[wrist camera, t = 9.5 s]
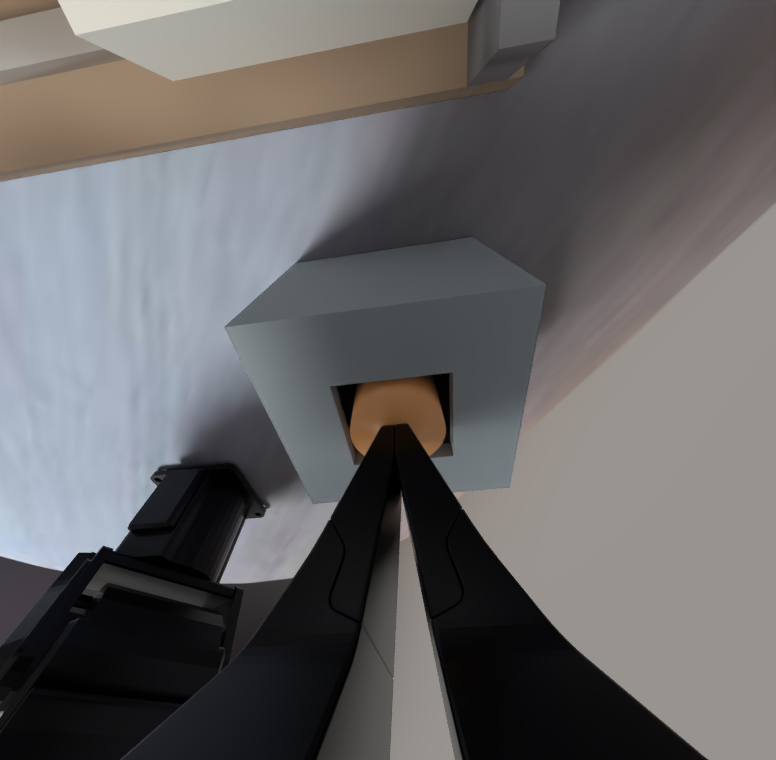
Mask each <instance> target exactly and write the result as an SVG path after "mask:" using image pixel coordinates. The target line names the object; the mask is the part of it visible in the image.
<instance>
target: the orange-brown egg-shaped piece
mask: <svg viewBox="0 0 776 760" xmlns="http://www.w3.org/2000/svg"><path fill="white" fill-rule="evenodd" d="M402 423H407V424H409V426H410V427H411V429H412V430H413V432H414V433H415V435H416V436H417V438H418V440H419V441H420V443H421V444H422V446H423V447H424V449H425V450H426V452H427V454H428V455H429V456H430V455H431V454H433V453H434V452H435V451H436V450H437V449H438V448H439V447H440V446H441V444H442V443H443V441H444V438H445V434H446V425H445V421H444V416H443V412H442V408H441V404H440V400H439V396H438V392H437V388H436V384H435V380H434V376H433V375H427V376H418V377H409V378H400V379H391V380H383V381H374V382H365V383H357V385H356V392H355V398H354V405H353V412H352V419H351V426H350V436H351V440H352V443H353V444H354V446H355V447H356V449H357V450H358V451H359V452H360V453H361V454H363V455H364V456H365V454H366V453H367V451H368V449H369V447H370V445H371V444H372V442H373V440H374V438H375V436H376V435H377V433H378V431H379V429H380V427H381V426H383V425H394V426H395V425H396V424H402Z"/></svg>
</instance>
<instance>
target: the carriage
mask: <svg viewBox="0 0 776 760" xmlns="http://www.w3.org/2000/svg"><path fill="white" fill-rule="evenodd" d="M477 1H478V0H58V2H59V4H60V6H61V8H62V10H63V12H64V14H65V16H66V18H67V20H68V22H69V24H70V26H71V28H72V30H73V32H74V34H75V35H76V36H78V37H80V38H82V39H84V40H87V41H89V42H91V43H93V44H95V45H97V46H99V47H101V48H104V49H106V50H108V51H110V52H112V53H114V54H116V55H118V56H121V57H123V58H125V59H127V60H129V61H131V62H133V63H135V64H138V65H140V66H142V67H144V68H146V69H148V70H150V71H152V72H155V73H157V74H159V75H161V76H163V77H165V78H167V79H169V80H172V81H176V80H181V79H186V78H191V77H196V76H201V75H206V74H211V73H216V72H221V71H226V70H231V69H236V68H241V67H246V66H251V65H256V64H261V63H266V62H271V61H276V60H281V59H286V58H291V57H296V56H301V55H306V54H311V53H316V52H321V51H326V50H331V49H336V48H341V47H346V46H351V45H355V44H360V43H365V42H370V41H375V40H380V39H385V38H390V37H395V36H400V35H405V34H410V33H415V32H420V31H425V30H430V29H435V28H440V27H445V26H450V25H455V24H460V23H465V22H467V21H468V19H469V17H470V15H471V13H472V11H473V9H474V7H475V5H476V3H477Z"/></svg>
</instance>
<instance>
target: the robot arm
mask: <svg viewBox="0 0 776 760" xmlns="http://www.w3.org/2000/svg"><path fill="white" fill-rule="evenodd" d="M151 480H152V481H153V482H154V483H155V484H156V485H157V488H156V489H155V490H154V492H153V493H152V494H151V496H150V497H149V498H148V500H147V501H146V502H145V504H144V505H143V506H142V508H141V509H140V510H139V512H138V513H137V514H136V516H135V517H134V518H133V520H132V521H131V522H130V524H129V526H128V530H129V531H130V532H129V533H128V534H127V536H126V537H125V538H124V540H123V541H122V543H121V544H120V545H119V547H118V548H117V549H116V551H112V550H113V549H112V548H109V547H106V546H102V548H101V549H100V550H99V551H98V552H97V553H94V552H92V553H78V554H77V555H76V557H75V558H74V559H73V560H72V562H71V563H70V564H69V565H68V566H67V568H66V569H65V570H64V571H63V572H62V574H61V575H60V576H59V577H58V579H57V580H56V581H55V582H54V583H53V584H52V586H51V587H50V588H49V589H48V591H47V592H46V593H45V594H44V595H43V597H42V598H41V599H40V600H39V601H38V603H37V604H36V605H35V606H34V608H33V609H32V610H31V611H30V612H29V614H28V615H27V616H26V617H25V618H24V620H23V621H22V622H21V623H20V625H19V626H18V627H17V628H16V629H15V630H14V632H13V633H12V634H11V635H10V637H9V638H8V639H7V640H6V641H5V643H4V644H3V645H2V646H1V647H0V760H390V742H391V741H390V740H391V720H392V698H393V679H392V678H393V675H394V653H395V630H396V610H397V589H398V567H399V544H400V523H401V499H402V497H403V502H404V507H405V512H406V517H407V522H408V527H409V532H410V537H411V542H412V547H413V552H414V556H415V562H416V567H417V572H418V577H419V582H420V587H421V592H422V597H423V602H424V607H425V612H426V617H427V622H428V627H429V632H430V637H431V642H432V646H433V652H434V657H435V662H436V667H437V672H438V676H439V682H440V687H441V692H442V697H443V702H444V707H445V712H446V717H447V722H448V727H449V732H450V737H451V742H452V747H453V751H454V756H455V760H708V759H707V758H705V757H704V756H703V755H701V753H699V752H698V751H697V750H696V749H694V748H693V747H692V746H691V745H690V744H689V743H687V742H686V741H685V740H684V739H683V738H681V737H680V736H679V735H678V734H677V733H676V732H674V731H673V730H672V729H671V728H670V727H668V726H667V725H666V724H665V723H664V722H662V721H661V720H660V719H659V718H658V717H656V716H655V715H654V714H653V713H652V712H651V711H649V710H648V709H647V708H646V707H644V706H643V705H642V704H641V703H640V702H638V701H637V700H636V699H635V698H634V697H633V696H631V695H630V694H629V693H628V692H627V691H625V690H624V689H623V688H622V687H620V686H619V685H618V684H617V683H616V682H615V681H614V680H612V679H611V678H610V677H609V676H608V675H606V674H605V673H604V672H603V671H602V670H600V669H599V668H598V667H597V666H596V665H595V664H593V663H592V662H591V661H590V660H589V659H587V658H586V657H585V656H584V655H583V654H582V653H580V652H579V651H578V650H577V649H576V648H575V647H574V646H573V645H572V644H571V643H570V642H569V641H567V639H566V638H565V637H564V636H563V635H562V634H561V633H560V632H559V631H558V630H557V629H556V628H555V627H554V626H553V625H552V623H551V622H550V621H549V620H548V619H547V617H546V616H545V615H544V614H543V613H542V611H541V610H540V609H539V608H538V607H537V606H536V604H535V603H534V602H533V600H532V599H531V598H530V597H529V596H528V594H527V593H526V592H525V591H524V589H523V588H522V587H521V586H520V585H519V583H518V582H517V581H516V580H515V578H514V577H513V576H512V575H511V574H510V572H509V571H508V570H507V569H506V567H505V566H504V565H503V564H502V562H501V561H500V560H499V559H498V558H497V556H496V555H495V554H494V552H493V551H492V550H491V548H490V547H489V546H488V545H487V543H486V542H485V541H484V539H483V538H482V536H481V535H480V533H479V532H478V531H477V529H476V528H475V526H474V525H473V523H472V522H471V520H470V519H469V517H468V516H467V514H466V513H465V511H464V510H463V509H462V507H461V505H460V503H459V502H458V500H457V499H456V497H455V496H454V494H453V492H452V491H451V489H450V488H449V486H448V485H447V483H446V482H445V480H444V478H443V477H442V475H441V474H440V472H439V471H438V469H437V468H436V466H435V464H434V463H433V461H432V460H431V458H430V457H429V455H428V454H427V452H426V450H425V449H424V447H423V446H422V444H421V443H420V441H419V440H418V438H417V436H416V435H415V433H414V432H413V430H412V429H411V427H410V426H409V424H407V423H402V424H396V425H395V426H394V425H383V426H381V427H380V429H379V431H378V433H377V435H376V436H375V438H374V440H373V442H372V444H371V445H370V447H369V449H368V451H367V453H366V454H365V456H364V458H363V460H362V462H361V463H360V465H359V467H358V469H357V471H356V472H355V474H354V476H353V478H352V480H351V481H350V483H349V485H348V487H347V489H346V490H345V492H344V494H343V496H342V498H341V499H340V501H339V503H338V505H337V507H336V508H335V510H334V512H333V514H332V516H331V520H329V521H328V523H327V524H326V526H325V528H324V530H323V532H322V534H321V535H320V537H319V539H318V540H317V542H316V544H315V545H314V547H313V549H312V550H311V552H310V554H309V555H308V557H307V558H306V560H305V561H304V563H303V564H302V566H301V567H300V569H299V570H298V572H297V573H296V575H295V576H294V578H293V579H292V581H291V582H290V583H289V585H288V586H287V588H286V589H285V591H284V592H283V594H282V595H281V597H280V598H279V599H278V601H277V602H276V604H275V605H274V607H273V608H272V609H271V611H270V612H269V614H268V615H267V617H266V618H265V620H264V621H263V623H262V624H261V625H260V627H259V628H258V630H257V631H256V632H255V634H254V635H253V637H252V638H251V639H250V640H249V642H248V643H247V644H246V645H245V647H244V648H243V649H242V650H241V651H240V652H239V653H238V655H237V656H236V657H235V658H234V659H233V660H232V661H231V662H230V663H229V659H230V654H231V649H232V645H233V640H234V634H235V630H236V625H237V620H238V615H239V610H240V606H241V601H242V596H243V591H244V590H243V589H242V588H239V587H234V588H233V587H230V586H226V585H223V584H220V583H219V582H220V580H221V578H222V575H223V573H224V570H225V568H226V565H227V563H228V561H229V558H230V556H231V553H232V551H233V549H234V546H235V544H236V541H237V539H238V537H239V534H240V532H241V529H242V527H243V525H244V522H245V520H246V519H248V518H260V517H263V516H264V514H265V512H266V509H265V508H264V506H263V505H262V504H261V502H260V501H259V499H258V498H257V496H256V495H255V493H254V492H253V490H252V489H251V487H250V486H249V484H248V483H247V482H246V480H245V479H244V477H243V476H242V474H241V473H240V471H239V470H238V468H237V467H236V466H234V465H231V464H226V465H216V466H205V467H195V468H184V469H174V470H164V471H156V472H155V473H154V474H153V475H152V476H151ZM401 491H402V493H401ZM85 588H89V589H93V590H97V591H99V592H98V593H97V594H96V595H95V596H94V597H92V596H87V595H83V594H82V593H83V591H84V590H85Z"/></svg>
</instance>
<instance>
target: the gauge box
mask: <svg viewBox="0 0 776 760" xmlns="http://www.w3.org/2000/svg"><path fill="white" fill-rule="evenodd" d="M546 286H547V284H545V283H544V282H542V281H540V280H539V279H537V278H536V277H534V276H533V275H531V274H530V273H528V272H526V271H525V270H523V269H522V268H520V267H519V266H517V265H516V264H514V263H512V262H511V261H509V260H508V259H506V258H505V257H503V256H502V255H500V254H498V253H497V252H495V251H494V250H492V249H491V248H489V247H487V246H486V245H484V244H483V243H481V242H480V241H478V240H477V239H475V238H473V237H469V238H462V239H455V240H448V241H442V242H435V243H428V244H421V245H414V246H408V247H401V248H394V249H387V250H380V251H374V252H367V253H360V254H353V255H346V256H340V257H333V258H326V259H319V260H312V261H306V262H299V263H295V264H294V265H293V266H292V267H291V268H289V269H288V270H287V271H286V272H285V273H284V274H283V275H282V276H281V277H279V278H278V279H277V280H276V281H275V282H274V283H273V284H272V285H271V286H269V287H268V288H267V289H266V290H265V291H264V292H263V293H262V294H261V295H259V296H258V297H257V298H256V299H255V300H254V301H253V302H252V303H251V304H249V305H248V306H247V307H246V308H245V309H244V310H243V311H242V312H241V313H239V314H238V315H237V316H236V317H235V318H234V319H233V320H232V321H231V322H229V323H228V324H227V325H226V326H225V327H224V328H225V330H226V332H227V334H228V336H229V338H230V340H231V342H232V344H233V346H234V348H235V350H236V352H237V354H238V356H239V358H240V360H241V362H242V364H243V366H244V368H245V370H246V372H247V374H248V376H249V378H250V380H251V382H252V384H253V386H254V388H255V390H256V392H257V394H258V396H259V398H260V400H261V402H262V404H263V406H264V408H265V410H266V412H267V414H268V416H269V418H270V420H271V422H272V424H273V426H274V428H275V430H276V432H277V434H278V436H279V438H280V440H281V441H282V443H283V445H284V447H285V449H286V451H287V453H288V455H289V457H290V459H291V461H292V463H293V465H294V467H295V469H296V471H297V473H298V475H299V477H300V479H301V481H302V483H303V485H304V487H305V489H306V491H307V493H308V495H309V497H310V499H311V501H312V503H313V504H318V503H330V502H339V501H340V499H341V498H342V496H343V494H344V492H345V490H346V489H347V487H348V485H349V483H350V481H351V480H352V478H353V476H354V474H355V472H356V471H357V469H358V467H359V465H360V463H361V462H362V460H363V458H364V455H363V454H361V453H360V452H359V451H358V450H357V449H356V447H355V446H354V444H353V443H352V440H351V436H350V426H351V419H352V412H353V405H354V398H355V392H356V388H355V389H346V390H344V387H343V385H347V384H356V383H365V382H374V381H383V380H391V379H400V378H409V377H418V376H427V375H435V374H444V373H449V378H444V379H435V384H436V388H437V392H438V396H439V400H440V404H441V408H442V412H443V416H444V421H445V425H446V434H445V438H444V441H443V443H442V444H441V446H440V447H439V448H438V449H437V450H436V451H435V452H434V453H433V454H431V455H430V456H429V457H430V458H431V460H432V461H433V463H434V464H435V466H436V468H437V469H438V471H439V472H440V474H441V475H442V477H443V478H444V480H445V482H446V483H447V485H448V486H449V488H450V489H451V491H452V492H462V491H473V490H484V489H496V488H509V487H510V482H511V477H512V471H513V466H514V461H515V455H516V450H517V444H518V439H519V433H520V428H521V422H522V417H523V412H524V406H525V401H526V395H527V390H528V384H529V379H530V373H531V368H532V362H533V357H534V351H535V346H536V341H537V335H538V330H539V324H540V319H541V313H542V308H543V302H544V297H545V291H546ZM401 493H402V491H401Z"/></svg>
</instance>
